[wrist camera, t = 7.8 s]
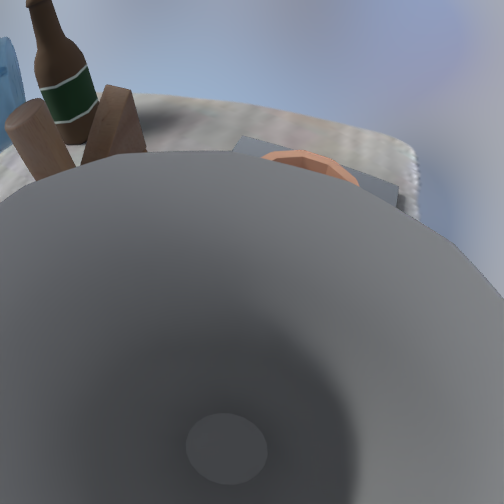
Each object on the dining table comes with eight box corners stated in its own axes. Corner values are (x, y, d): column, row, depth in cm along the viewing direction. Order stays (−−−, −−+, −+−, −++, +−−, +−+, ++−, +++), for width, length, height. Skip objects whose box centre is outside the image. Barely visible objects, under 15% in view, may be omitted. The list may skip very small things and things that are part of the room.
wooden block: (161, 193, 36) (123, 51, 20) (100, 265, 31) (12, 134, 15) (138, 182, 36) (96, 48, 21) (79, 249, 32) (-5, 125, 16)
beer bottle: (79, 152, 40) (22, 4, 19) (53, 140, 41) (0, 11, 20) (115, 120, 43) (78, -23, 22) (87, 110, 45) (49, -15, 24)
